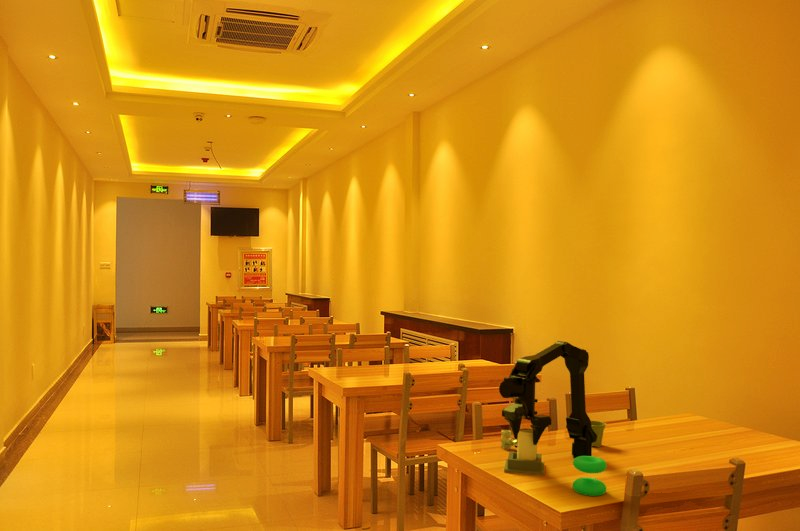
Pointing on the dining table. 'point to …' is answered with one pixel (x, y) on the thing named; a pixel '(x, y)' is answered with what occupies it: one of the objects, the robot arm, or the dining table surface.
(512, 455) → the socket holder
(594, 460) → the donuts
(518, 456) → the can
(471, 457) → the dining table surface
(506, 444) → the valve
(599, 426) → the plant pot
